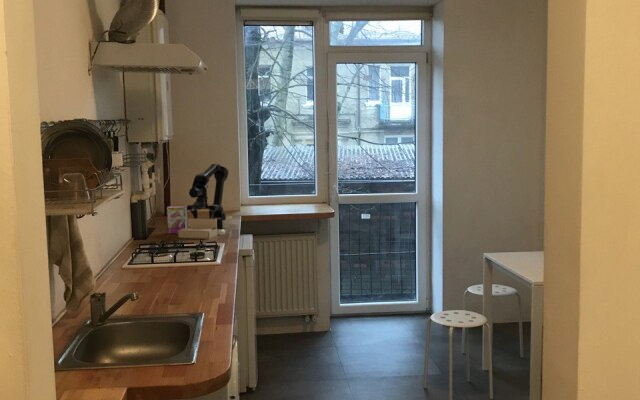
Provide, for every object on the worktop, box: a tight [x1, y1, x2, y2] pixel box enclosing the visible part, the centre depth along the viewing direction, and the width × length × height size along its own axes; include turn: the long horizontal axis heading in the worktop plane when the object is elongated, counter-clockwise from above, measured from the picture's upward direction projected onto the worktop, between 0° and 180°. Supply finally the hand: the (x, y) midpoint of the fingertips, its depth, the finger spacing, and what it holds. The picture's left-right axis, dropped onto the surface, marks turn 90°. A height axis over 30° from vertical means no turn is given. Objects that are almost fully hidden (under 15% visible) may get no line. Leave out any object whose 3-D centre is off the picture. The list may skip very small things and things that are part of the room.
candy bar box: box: [166, 206, 188, 235], centre depth 408 cm, size 11×5×16 cm, turn 83°
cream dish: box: [218, 229, 226, 236], centre depth 402 cm, size 7×7×2 cm
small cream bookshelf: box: [177, 227, 219, 240], centre depth 395 cm, size 12×20×5 cm, turn 74°
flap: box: [187, 218, 217, 229], centre depth 400 cm, size 5×19×1 cm
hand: (203, 221), depth 402 cm, fingers open, 9 cm apart
